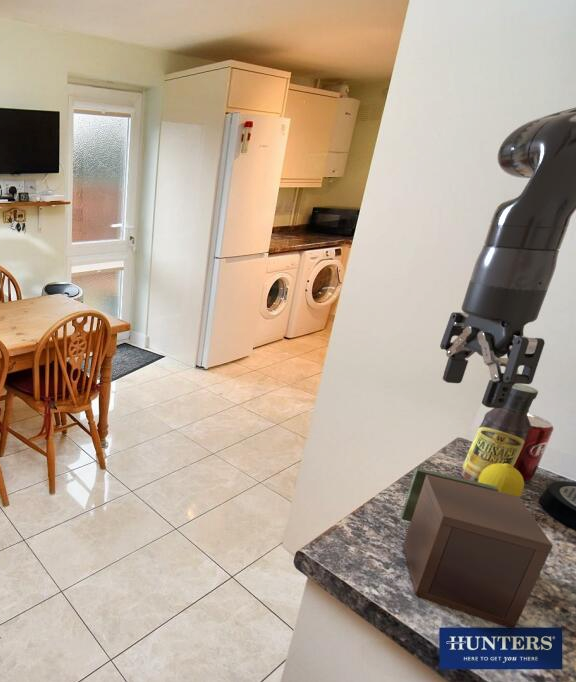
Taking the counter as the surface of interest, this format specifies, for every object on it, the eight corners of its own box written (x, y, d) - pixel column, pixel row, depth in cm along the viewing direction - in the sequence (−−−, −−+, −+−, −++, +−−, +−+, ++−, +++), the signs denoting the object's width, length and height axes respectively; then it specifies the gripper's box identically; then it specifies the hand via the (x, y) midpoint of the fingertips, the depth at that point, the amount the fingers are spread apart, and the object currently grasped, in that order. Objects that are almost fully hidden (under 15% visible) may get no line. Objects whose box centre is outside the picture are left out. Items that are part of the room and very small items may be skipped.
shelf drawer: (398, 512, 73) (414, 462, 70) (473, 532, 69) (493, 481, 66) (411, 557, 64) (429, 502, 61) (498, 584, 60) (523, 527, 57)
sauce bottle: (456, 480, 84) (491, 384, 78) (462, 468, 88) (495, 375, 82) (503, 497, 80) (544, 397, 73) (507, 483, 84) (545, 387, 77)
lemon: (511, 518, 74) (528, 477, 72) (469, 501, 78) (483, 462, 76) (516, 504, 78) (533, 465, 75) (475, 489, 82) (489, 451, 79)
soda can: (524, 469, 88) (546, 415, 84) (537, 489, 82) (562, 432, 78) (476, 458, 92) (495, 406, 88) (486, 476, 86) (506, 421, 82)
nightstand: (402, 546, 68) (426, 474, 64) (487, 572, 63) (519, 496, 59) (415, 595, 59) (443, 515, 55) (514, 629, 55) (553, 545, 51)
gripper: (591, 294, 51) (541, 419, 56) (500, 274, 65) (466, 377, 70) (517, 291, 53) (474, 413, 58) (442, 271, 66) (413, 372, 71)
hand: (470, 393), depth 64 cm, fingers open, 8 cm apart
